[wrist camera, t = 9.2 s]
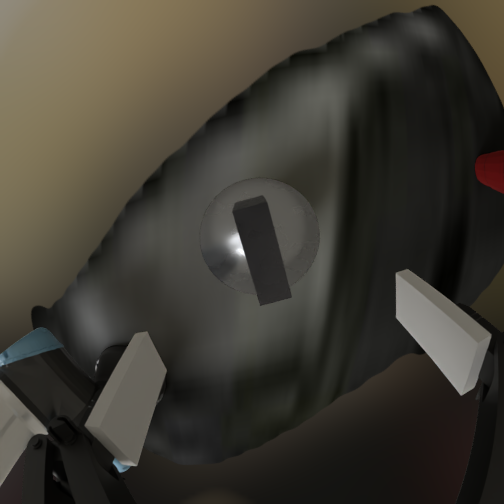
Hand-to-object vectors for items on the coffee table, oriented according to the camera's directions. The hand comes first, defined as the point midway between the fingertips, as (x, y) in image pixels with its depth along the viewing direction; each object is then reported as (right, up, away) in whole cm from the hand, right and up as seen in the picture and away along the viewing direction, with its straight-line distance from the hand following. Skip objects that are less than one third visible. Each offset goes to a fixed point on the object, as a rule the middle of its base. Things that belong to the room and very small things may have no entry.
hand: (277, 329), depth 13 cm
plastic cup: (+44, +20, +25) cm, 54 cm away
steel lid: (0, +5, +18) cm, 19 cm away
